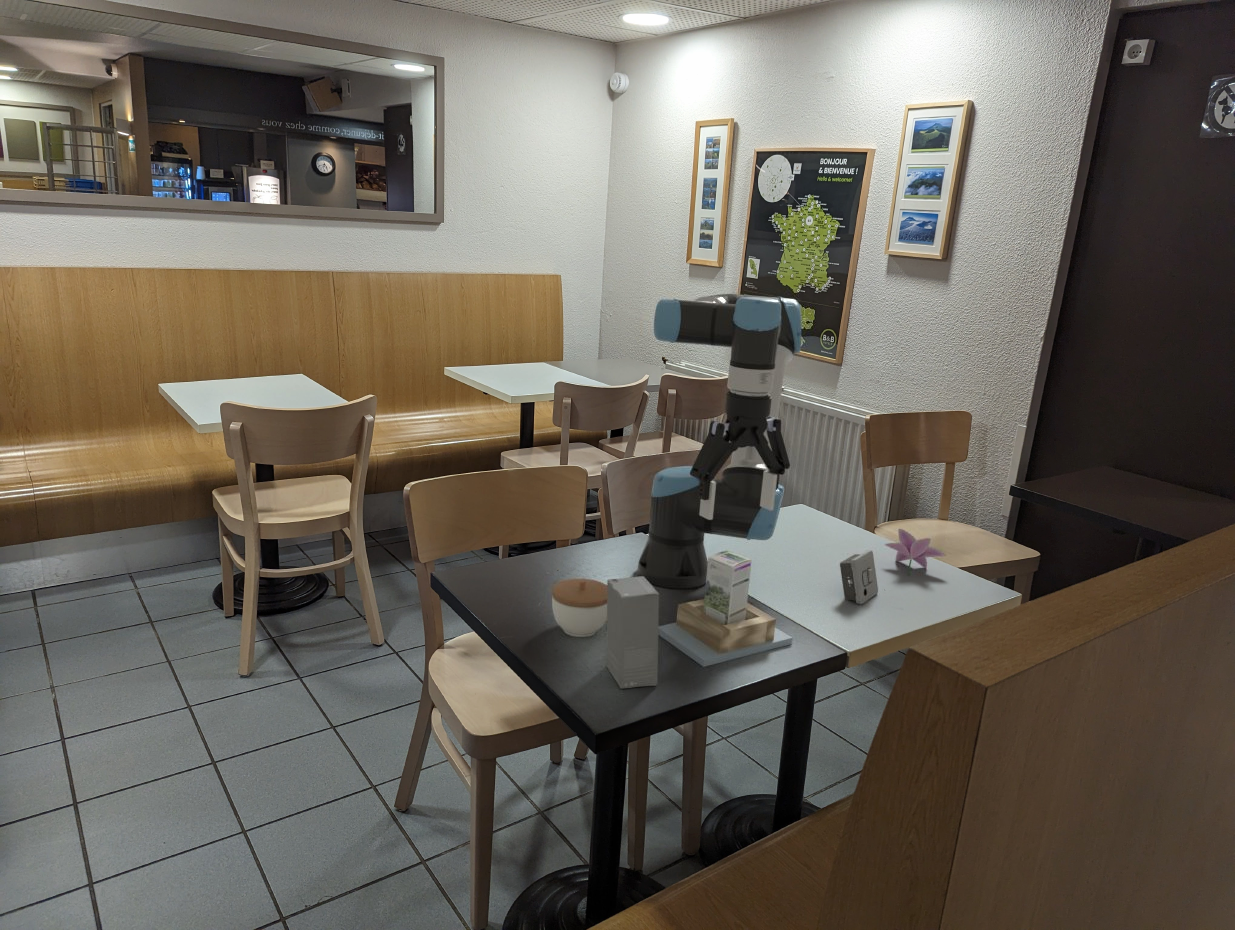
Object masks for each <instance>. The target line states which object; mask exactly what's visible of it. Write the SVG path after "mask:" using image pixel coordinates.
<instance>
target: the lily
mask: <svg viewBox="0 0 1235 930" xmlns="http://www.w3.org/2000/svg"><path fill="white" fill-rule="evenodd" d="M897 532H898V533H897V534H898V542H889V543H884V546H886V547H888V548H890V549H891V550H894V551H897V552H896V555H895V561H896V562H903V561H907V560H909V563H908V571H907V576H910V572H911V565H912V561H914V562H916V563H917V564H918V565H920V566H921V567H923V568H924V569H927V568H928V561H927V558H932V557H946V556H947V554H946V553H945V552H943V551H941V550H939V549H937V548H935V547H932V546H930V544H931V540H932V539H931V538H928V537H927V538H921V539H916V538H915V536H914V535H912V534H911V533H910V532H908V531H906V530H905V529H903V528H898V530H897Z"/></svg>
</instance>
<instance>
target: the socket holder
mask: <svg viewBox="0 0 1235 930" xmlns="http://www.w3.org/2000/svg"><path fill="white" fill-rule="evenodd" d="M704 599H705V598H703V599H698V600H693V601H687V602H683V603H678V604H677V611H676V622H673V623H672V622H671V623H667V624H663V625H658V636H660V637H661V638H662V639H664V640H666V641H667V642H668V643H670V644H671V645H673V646H674V647H675V648H676V649H678V650H679V651H680V652H682V653H683V654H685V655H686V656H687V657H689V658H690V659H692V660H693V661H695V662H696V663H697V664H699V665H700V666H701V667H703V668H705V667H708V666H712V665H717V664H720V663H723V662H728V661H732V660H736V659H738V658H742V657H743V658H744V657H746V656H751V655H755V654H758V653H762V652H763V653H764V652H766V651H769V650H773V649H776V648H777V649H778V648H781V647H784V646H789V645H792V643H793V637H792V636H790V635H788V634H787V633H785V632H783V631H782V630H780V629H779V628H777V627H776V625H777V624H776V623H777V619H776V618H775V617H773V616H771V615H770V614H768V613H766V612H764V611H762V610H761V609H759V608H757V607H756V606H754V605H753V604H751V603H749V602H747V608H746V618H745V620H744V621H740V622H736V623H731V624H727V625H722V624H720V623H718V622H717V621H715V620H714V619H712V618H710V617H709V616H707V615H706V614H704V613H703V611H704Z"/></svg>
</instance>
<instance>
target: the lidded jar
mask: <svg viewBox="0 0 1235 930" xmlns="http://www.w3.org/2000/svg"><path fill="white" fill-rule="evenodd" d="M551 596H552V599H551V600H552V601H551V603H552V606H551V607H552V613H553V616H554V620H555V622H556V623H557V625H558V626H559V627H560V628H561V629H562V631H563V632H564V633H565V634H567V635H568V636H570V637H575V638H589V637H592V636H594V635H595V634H597V632H598V631H599V630H600V629H601V628H602V627H604V625H605V624H606V623H607V583H603V582H602V581H599V580H595V579H590V578H570V579H569V578H568V579H563V580H561V581H559V582H556V584H554V585H553V586H552V588H551Z"/></svg>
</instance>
